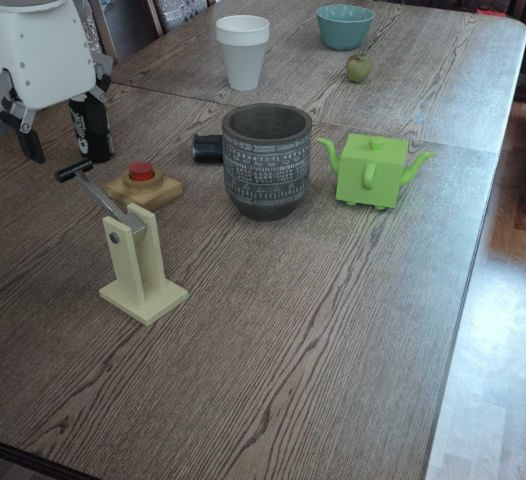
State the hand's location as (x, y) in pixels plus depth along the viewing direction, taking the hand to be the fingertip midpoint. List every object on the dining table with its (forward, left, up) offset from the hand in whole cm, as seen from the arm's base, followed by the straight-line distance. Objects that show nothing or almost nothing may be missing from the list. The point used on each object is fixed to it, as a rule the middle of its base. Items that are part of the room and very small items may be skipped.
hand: (69, 145), depth 69 cm
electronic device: (-9, +40, -20) cm, 45 cm away
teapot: (+20, +44, -20) cm, 52 cm away
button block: (-11, +19, -20) cm, 29 cm away
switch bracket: (+10, 0, -20) cm, 22 cm away
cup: (-31, +69, -20) cm, 78 cm away
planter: (+8, +30, -20) cm, 37 cm away
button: (-11, +19, -16) cm, 27 cm away
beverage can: (-29, +23, -20) cm, 42 cm away
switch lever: (+5, 0, -7) cm, 8 cm away
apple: (-12, +90, -20) cm, 93 cm away
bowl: (-29, +109, -20) cm, 114 cm away
